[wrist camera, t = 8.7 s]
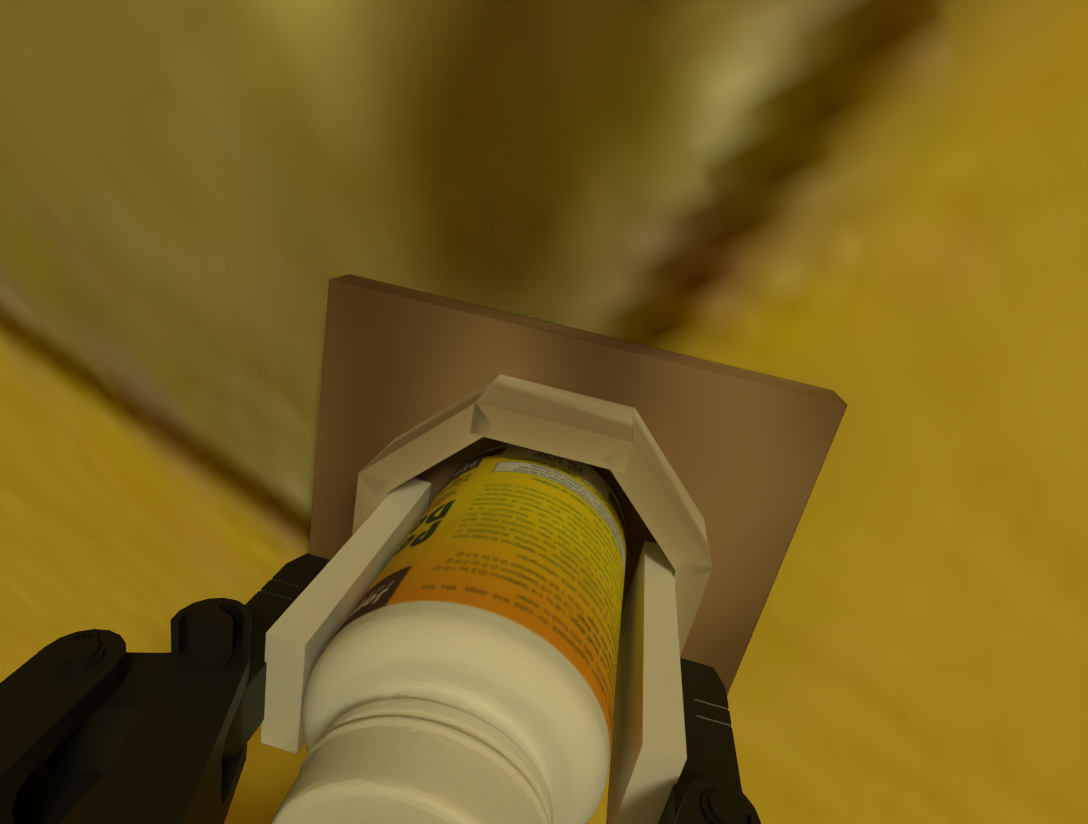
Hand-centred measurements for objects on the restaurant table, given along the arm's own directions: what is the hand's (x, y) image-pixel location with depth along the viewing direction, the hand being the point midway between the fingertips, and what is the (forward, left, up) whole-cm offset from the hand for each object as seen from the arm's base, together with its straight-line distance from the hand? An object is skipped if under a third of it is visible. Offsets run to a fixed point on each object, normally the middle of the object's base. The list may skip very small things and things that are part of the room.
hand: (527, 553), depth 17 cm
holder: (0, 0, -2) cm, 2 cm away
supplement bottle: (0, 0, -1) cm, 1 cm away
